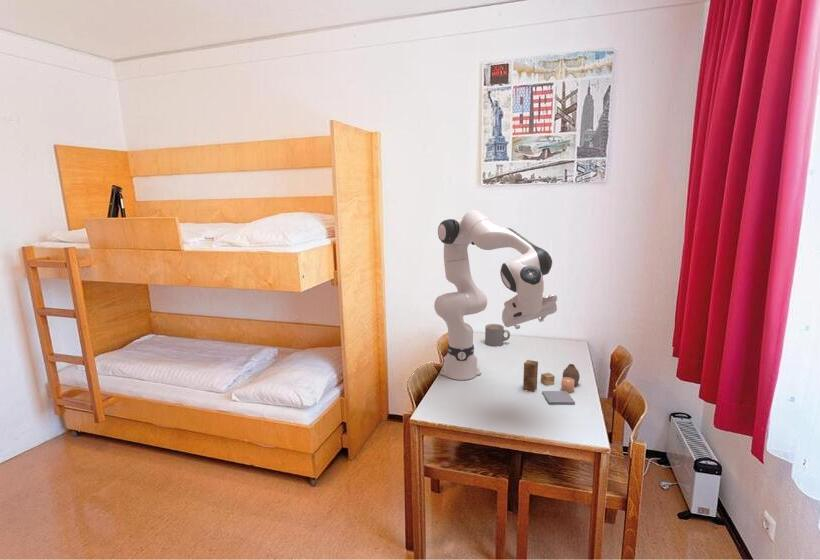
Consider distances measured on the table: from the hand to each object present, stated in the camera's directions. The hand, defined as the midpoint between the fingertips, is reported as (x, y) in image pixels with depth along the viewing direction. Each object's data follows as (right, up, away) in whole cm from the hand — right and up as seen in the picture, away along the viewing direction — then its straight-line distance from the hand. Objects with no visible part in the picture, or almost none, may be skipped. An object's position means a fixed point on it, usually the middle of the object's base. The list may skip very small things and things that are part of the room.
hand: (528, 323), depth 164 cm
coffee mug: (+3, -19, +75) cm, 77 cm away
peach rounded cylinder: (+21, -30, +16) cm, 39 cm away
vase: (+24, -29, +22) cm, 44 cm away
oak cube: (+15, -28, +23) cm, 39 cm away
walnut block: (+5, -30, +18) cm, 35 cm away
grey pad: (+14, -31, +9) cm, 35 cm away
